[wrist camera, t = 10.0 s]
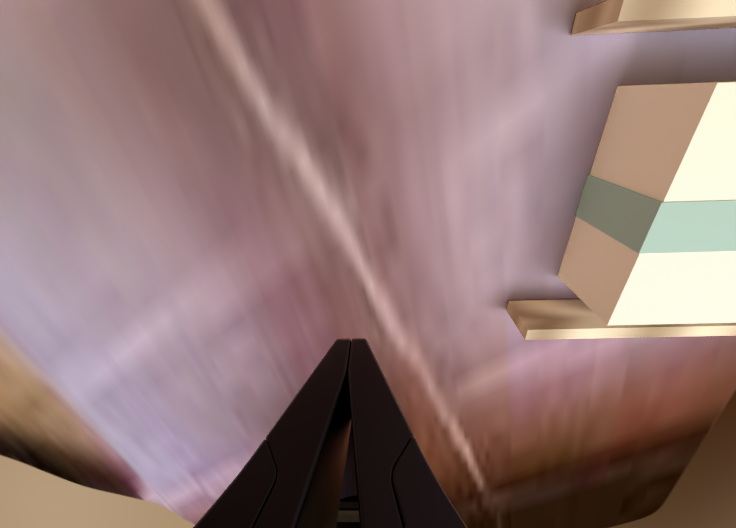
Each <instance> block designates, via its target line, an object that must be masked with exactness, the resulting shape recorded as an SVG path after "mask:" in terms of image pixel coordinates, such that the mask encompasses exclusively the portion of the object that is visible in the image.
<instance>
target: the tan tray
mask: <svg viewBox="0 0 736 528" xmlns="http://www.w3.org/2000/svg"><path fill="white" fill-rule="evenodd" d="M719 28H736V0H607V1H605V2H602V3H600V4H597V5H595V6H592V7H590V8H587V9H585V10H582V11H580V12H577V13H576V17H575V21H574V25H573V29H572V34H571V35H584V34H606V33H629V32H651V31H674V30H696V29H719ZM506 310H507V312H508V313H509V315H510V316H511V318H512V320H513V321H514V323H515V324H516V326H517V328H518V329H519V331H520V332H521V334H522V336H523V337H524V339H525V340H533V339H584V338H634V337H684V336H735V335H736V323H697V324H650V325H606V324H605V323H604V322H603V321H602V320H601V319H600V318H599V317H598V316H597V315H596V314H595V313H594V312H593V311H592V310H591V309H590V308H589V307H588V306H587V305H586V304H585V303H584V302H583V301H582V300H581V299H566V300H523V301H508V305H507V309H506Z"/></svg>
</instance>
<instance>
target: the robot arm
mask: <svg viewBox="0 0 736 528" xmlns="http://www.w3.org/2000/svg"><path fill="white" fill-rule="evenodd" d="M193 528H467V526H466V525H465V523H464V522H463V520H462V519H461V517H460V516H459V514H458V512H457V511H456V509H455V508H454V506H453V505H452V503H451V502H450V500H449V498H448V497H447V495H446V494H445V492H444V490H443V489H442V487H441V485H440V484H439V482H438V480H437V479H436V477H435V475H434V474H433V472H432V470H431V468H430V466H429V464H428V462H427V461H426V459H425V457H424V455H423V453H422V451H421V449H420V447H419V445H418V443H417V441H416V439H415V438H413V433H412V431H411V429H410V427H409V425H408V423H407V421H406V419H405V417H404V415H403V413H402V411H401V409H400V407H399V405H398V403H397V401H396V399H395V397H394V395H393V393H392V391H391V389H390V387H389V385H388V383H387V381H386V378H385V376H384V374H383V372H382V370H381V368H380V366H379V364H378V362H377V360H376V358H375V356H374V354H373V352H372V350H371V348H370V346H369V344H368V342H367V340H366V339H364V338H359V339H352V341H351V340H350V339H337V340H336V341H335V342H334V344H333V345H332V347H331V348H330V349H329V351H328V352H327V354H326V355H325V356H324V358H323V359H322V360H321V362H320V363H319V365H318V366H317V367H316V369H315V370H314V372H313V373H312V374H311V376H310V377H309V378H308V380H307V381H306V383H305V384H304V385H303V387H302V388H301V390H300V391H299V392H298V394H297V395H296V396H295V398H294V399H293V401H292V402H291V403H290V405H289V406H288V408H287V409H286V410H285V412H284V413H283V414H282V416H281V417H280V419H279V420H278V421H277V423H276V424H275V426H274V427H273V428H272V430H271V431H270V432H269V434H268V435H267V437H266V440H264V441H263V442H262V443H261V445H260V446H259V448H258V449H257V450H256V452H255V453H254V454H253V456H252V457H251V458H250V460H249V461H248V462H247V464H246V465H245V466H244V468H243V469H242V470H241V472H240V473H239V474H238V476H237V477H236V478H235V479H234V480H233V482H232V483H231V484H230V485H229V486H228V488H227V489H226V490H225V491H224V492H223V494H222V495H221V496H220V497H219V498H218V499H217V501H216V502H215V503H214V504H213V505H212V506H211V508H210V509H209V510H208V511H207V512H206V513H205V515H204V516H203V517H202V518H201V519H200V520H199V521H198V523H197V524H196V525H195V526H194V527H193Z"/></svg>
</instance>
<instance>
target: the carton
mask: <svg viewBox="0 0 736 528" xmlns="http://www.w3.org/2000/svg"><path fill="white" fill-rule="evenodd" d="M575 216H576V219H575V222H574V226H573V229H572V232H571V235H570V238H569V241H568V245H567V248H566V251H565V254H564V257H563V260H562V263H561V267H560V270H559V273H558V276H557V277H558V278H559V279H560V280H561V281H562V282H563V283H564V284H565V285H567V286H568V287H569V288H570V289H571V290H572V291H573V292H574V293H575V294H576V295H577V296H578V297H579V298H580V299H581V300H582V301H583V302H584V303H585V304H586V305H587V306H588V307H589V308H590V309H591V310H592V311H593V312H594V313H595V314H596V315H597V316H598V317H599V318H600V319H601V320H602V321H603V322H604V323H605V324H606V325H650V324H697V323H736V81H730V82H705V83H681V84H656V85H631V86H618V87H617V90H616V93H615V96H614V99H613V103H612V106H611V109H610V112H609V115H608V118H607V122H606V125H605V128H604V131H603V134H602V137H601V140H600V144H599V147H598V150H597V153H596V156H595V159H594V163H593V166H592V169H591V172H590V175H588V176H587V179H586V182H585V185H584V189H583V192H582V195H581V198H580V201H579V204H578V208H577V211H576V214H575Z"/></svg>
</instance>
